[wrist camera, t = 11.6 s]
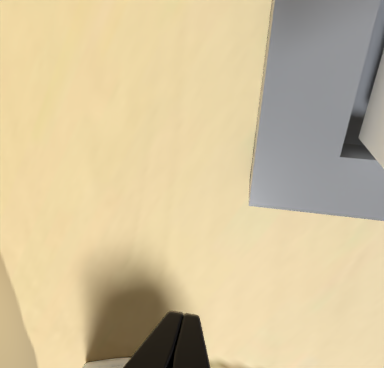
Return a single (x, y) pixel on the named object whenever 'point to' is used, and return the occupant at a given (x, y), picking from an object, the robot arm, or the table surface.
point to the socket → (318, 109)
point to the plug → (375, 118)
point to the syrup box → (107, 363)
